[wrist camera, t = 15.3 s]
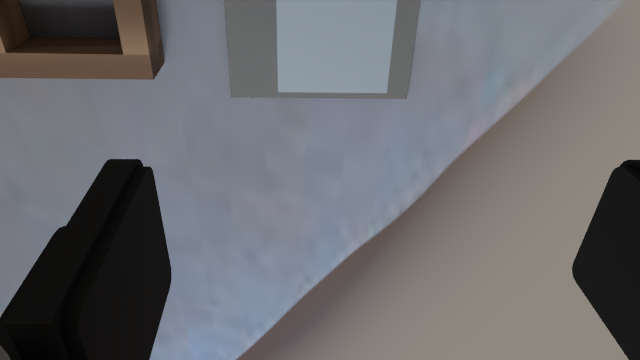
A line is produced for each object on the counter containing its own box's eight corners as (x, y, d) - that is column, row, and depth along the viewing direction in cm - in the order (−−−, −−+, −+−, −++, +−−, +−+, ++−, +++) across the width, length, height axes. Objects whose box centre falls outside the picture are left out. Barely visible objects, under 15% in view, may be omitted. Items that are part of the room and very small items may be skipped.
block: (280, -58, 28) (275, -26, 19) (367, -56, 28) (399, -23, 20) (281, 30, 30) (278, 92, 22) (360, 31, 31) (387, 93, 22)
